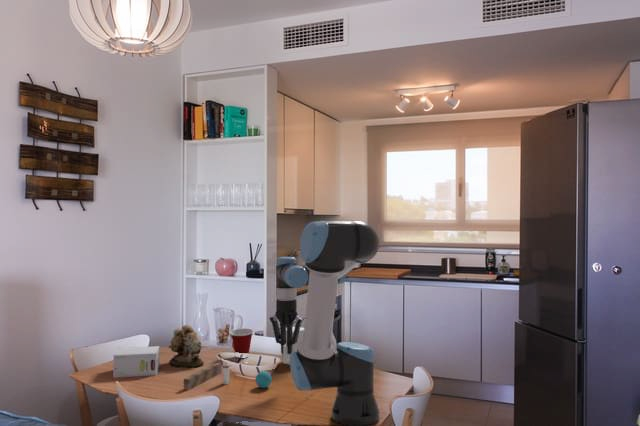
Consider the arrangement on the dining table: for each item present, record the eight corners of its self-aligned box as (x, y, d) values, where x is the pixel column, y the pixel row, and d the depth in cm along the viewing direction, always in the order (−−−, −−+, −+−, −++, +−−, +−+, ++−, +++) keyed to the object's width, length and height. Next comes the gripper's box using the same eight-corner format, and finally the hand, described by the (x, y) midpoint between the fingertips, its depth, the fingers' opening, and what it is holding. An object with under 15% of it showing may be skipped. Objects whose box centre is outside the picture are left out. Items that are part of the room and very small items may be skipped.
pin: (227, 384, 208) (227, 362, 208) (221, 384, 209) (221, 361, 209) (230, 382, 210) (230, 360, 210) (224, 382, 211) (224, 360, 211)
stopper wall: (188, 390, 201) (188, 379, 201) (183, 389, 202) (183, 379, 202) (221, 372, 224) (221, 363, 224) (217, 372, 224) (217, 362, 224)
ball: (267, 390, 200) (267, 374, 200) (252, 389, 202) (252, 373, 202) (274, 386, 206) (274, 370, 206) (260, 384, 208) (259, 368, 208)
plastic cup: (225, 358, 245) (225, 332, 246) (237, 353, 256) (237, 327, 256) (246, 361, 242) (246, 334, 242) (257, 355, 252) (257, 329, 252)
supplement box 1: (112, 378, 218) (112, 354, 218) (118, 369, 231) (118, 347, 231) (156, 375, 221) (156, 352, 221) (159, 366, 234) (159, 345, 234)
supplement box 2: (296, 359, 245) (296, 325, 245) (309, 362, 238) (309, 328, 238) (280, 362, 239) (280, 328, 239) (294, 366, 232) (293, 331, 232)
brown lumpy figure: (160, 364, 237) (160, 325, 237) (179, 358, 247) (179, 321, 248) (191, 370, 228) (191, 329, 228) (210, 363, 238) (210, 324, 239)
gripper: (306, 298, 202) (306, 361, 202) (274, 296, 207) (274, 358, 207) (298, 301, 195) (299, 367, 195) (266, 299, 200) (266, 363, 200)
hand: (286, 362), depth 201 cm, fingers closed
